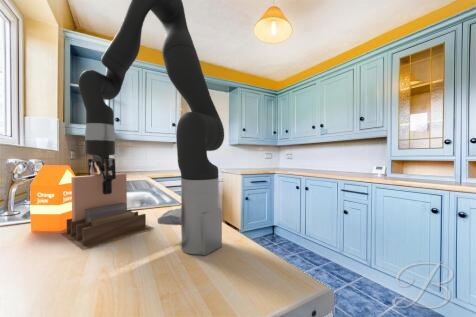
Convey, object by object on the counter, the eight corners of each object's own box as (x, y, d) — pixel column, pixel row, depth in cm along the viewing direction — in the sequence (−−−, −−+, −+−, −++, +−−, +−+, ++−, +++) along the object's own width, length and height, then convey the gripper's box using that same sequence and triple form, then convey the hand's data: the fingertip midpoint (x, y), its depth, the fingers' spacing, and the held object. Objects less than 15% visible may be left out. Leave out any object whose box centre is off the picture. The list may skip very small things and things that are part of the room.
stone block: (156, 233, 66) (186, 227, 66) (153, 218, 66) (183, 212, 66) (169, 222, 78) (195, 217, 78) (166, 210, 78) (192, 204, 78)
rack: (154, 231, 62) (154, 214, 62) (83, 254, 48) (82, 233, 48) (125, 220, 73) (125, 206, 73) (60, 236, 59) (59, 219, 59)
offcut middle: (127, 226, 64) (126, 203, 64) (89, 236, 56) (89, 210, 56) (122, 224, 66) (122, 202, 66) (85, 233, 58) (85, 209, 58)
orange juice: (54, 225, 68) (53, 164, 68) (80, 225, 68) (79, 164, 68) (29, 234, 60) (28, 166, 60) (59, 234, 60) (58, 166, 60)
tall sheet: (126, 221, 68) (126, 173, 68) (74, 235, 57) (74, 177, 57) (123, 220, 70) (122, 173, 70) (72, 233, 59) (71, 176, 58)
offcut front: (134, 229, 62) (134, 212, 62) (95, 240, 54) (95, 221, 53) (129, 227, 63) (129, 210, 63) (91, 237, 55) (91, 219, 55)
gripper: (124, 139, 62) (125, 193, 62) (104, 141, 70) (105, 188, 71) (95, 137, 56) (96, 197, 56) (77, 140, 64) (78, 192, 65)
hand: (101, 192), depth 63 cm, fingers open, 8 cm apart
